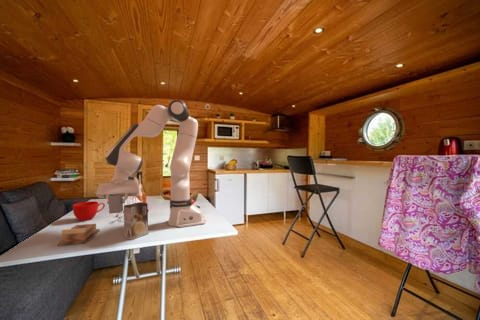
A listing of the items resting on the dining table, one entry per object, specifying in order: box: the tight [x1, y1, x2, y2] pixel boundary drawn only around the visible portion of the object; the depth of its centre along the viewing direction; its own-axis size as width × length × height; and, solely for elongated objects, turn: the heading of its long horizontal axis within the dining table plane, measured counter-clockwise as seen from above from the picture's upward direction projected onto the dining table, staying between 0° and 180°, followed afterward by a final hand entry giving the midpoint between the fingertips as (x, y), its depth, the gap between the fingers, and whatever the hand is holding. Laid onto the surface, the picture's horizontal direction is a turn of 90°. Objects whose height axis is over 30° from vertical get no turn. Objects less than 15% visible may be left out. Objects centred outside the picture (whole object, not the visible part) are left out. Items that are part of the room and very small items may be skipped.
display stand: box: [57, 223, 100, 247], centre depth 103 cm, size 11×16×6 cm
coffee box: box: [123, 201, 149, 241], centre depth 105 cm, size 9×6×16 cm
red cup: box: [72, 200, 106, 222], centre depth 133 cm, size 13×17×10 cm
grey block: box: [108, 195, 124, 214], centre depth 108 cm, size 5×5×8 cm
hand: (115, 203), depth 108 cm, fingers closed on grey block, 5 cm apart
